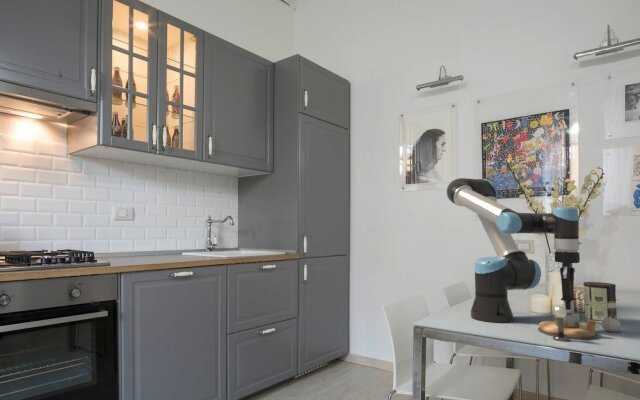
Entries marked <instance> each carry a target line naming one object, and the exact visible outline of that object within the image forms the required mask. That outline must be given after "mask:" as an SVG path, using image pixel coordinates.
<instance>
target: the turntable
mask: <svg viewBox="0 0 640 400" xmlns="http://www.w3.org/2000/svg"><path fill="white" fill-rule="evenodd" d="M539 327H540V330H541V331H543V332H546V333H549V334H553V335H558V326H556V325H555V320H545V321H544V320H543V321H541V322H539ZM595 334H596V322H595V320H586V324H583V323H580V328H575V329H573V328H564V336H566V337H572V338H591V337H594V336H595Z"/></svg>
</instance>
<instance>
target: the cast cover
mask: <svg viewBox="0 0 640 400" xmlns="http://www.w3.org/2000/svg"><path fill="white" fill-rule="evenodd" d="M565 310H566V312H567V314H566V316H565V317H564V318H563V324H564V328H573V329H575V328H580V324H581V323H580V314H578V313H575V312H573V313H572V310H571V309H565ZM554 317H555V316H554ZM554 321H555V325H556V326H558V318H557V317H555V318H554Z"/></svg>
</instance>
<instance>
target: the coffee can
mask: <svg viewBox="0 0 640 400" xmlns="http://www.w3.org/2000/svg"><path fill="white" fill-rule="evenodd" d="M616 287H617V285H616V284H615V283H610V282H601V281H599V282H598V281H585V282H583V294H584V298H583V299H584V320H585V321H587V320H595V324H596V323H597V324H602V321H603V319H605V318H609V316H611V318H614V319H617V320H618V315H617V292H616Z"/></svg>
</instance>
